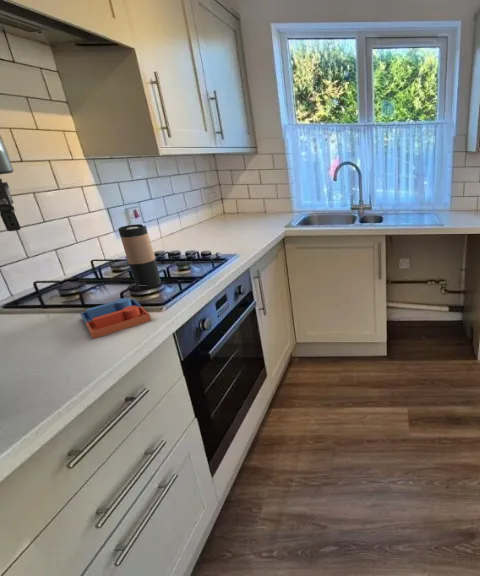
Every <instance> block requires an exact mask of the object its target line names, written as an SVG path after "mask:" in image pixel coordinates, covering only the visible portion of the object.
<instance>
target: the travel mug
mask: <svg viewBox="0 0 480 576" xmlns="http://www.w3.org/2000/svg"><path fill="white" fill-rule="evenodd" d="M117 230H118V233H119V236H120V240H121V243H122V246H123V249H124V253H125V256H126V261H127V263H128V266H129V269H130V271H131V274H132V277H133V279H134V282H135V285H136V284H139V285H147V286H138V285H136V287H137V286H138V287H139V288H138V287H137V288H138V289H141V290H142V289H144V290H145V289H151V288H154V287H158V286H159V285H161V284H162V280H161V279H162V278H161V275H160V272H159V268H158V263H157V259H156V256H155V252H154V249H153V245H152V243H151V239H150V235H149V233H148V229H147V225H143V224H140V223H138V224H136V223H135V224H128V225H124V226H120V227H118V228H117Z"/></svg>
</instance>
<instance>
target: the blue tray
mask: <svg viewBox="0 0 480 576" xmlns="http://www.w3.org/2000/svg"><path fill="white" fill-rule="evenodd" d="M129 299H130V298H129ZM130 302H131V305H132V306H137V307H141V306H142V305H141V304H140V302H138V301H137V300H136V299H135V298H131V299H130ZM80 317H81V319H82V321H83V323H84V325H85V327H86V328H87V326H86V322H89V321H93V319H91V320H90V319H89V316H88V313H87V311H83V312H80Z"/></svg>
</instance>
